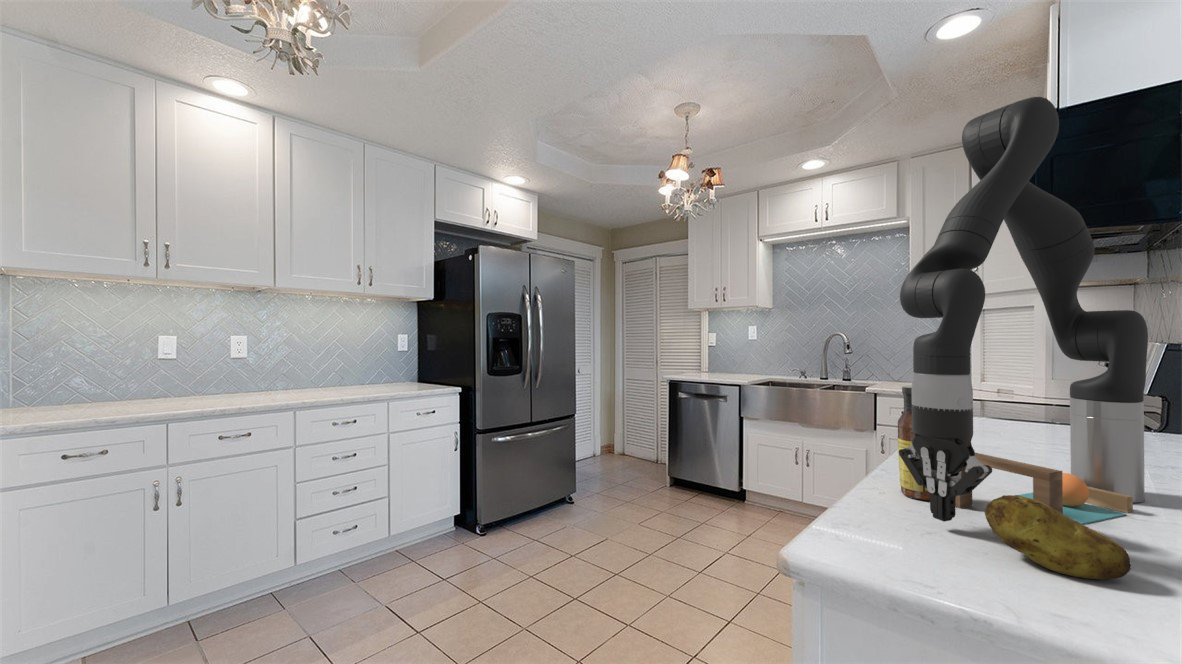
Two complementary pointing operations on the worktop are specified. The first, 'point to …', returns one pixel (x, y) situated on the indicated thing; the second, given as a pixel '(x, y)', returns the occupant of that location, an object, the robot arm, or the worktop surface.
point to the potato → (1055, 539)
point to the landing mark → (1085, 512)
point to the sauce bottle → (904, 441)
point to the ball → (1074, 490)
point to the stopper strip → (1110, 500)
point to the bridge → (1044, 479)
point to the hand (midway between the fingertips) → (942, 519)
